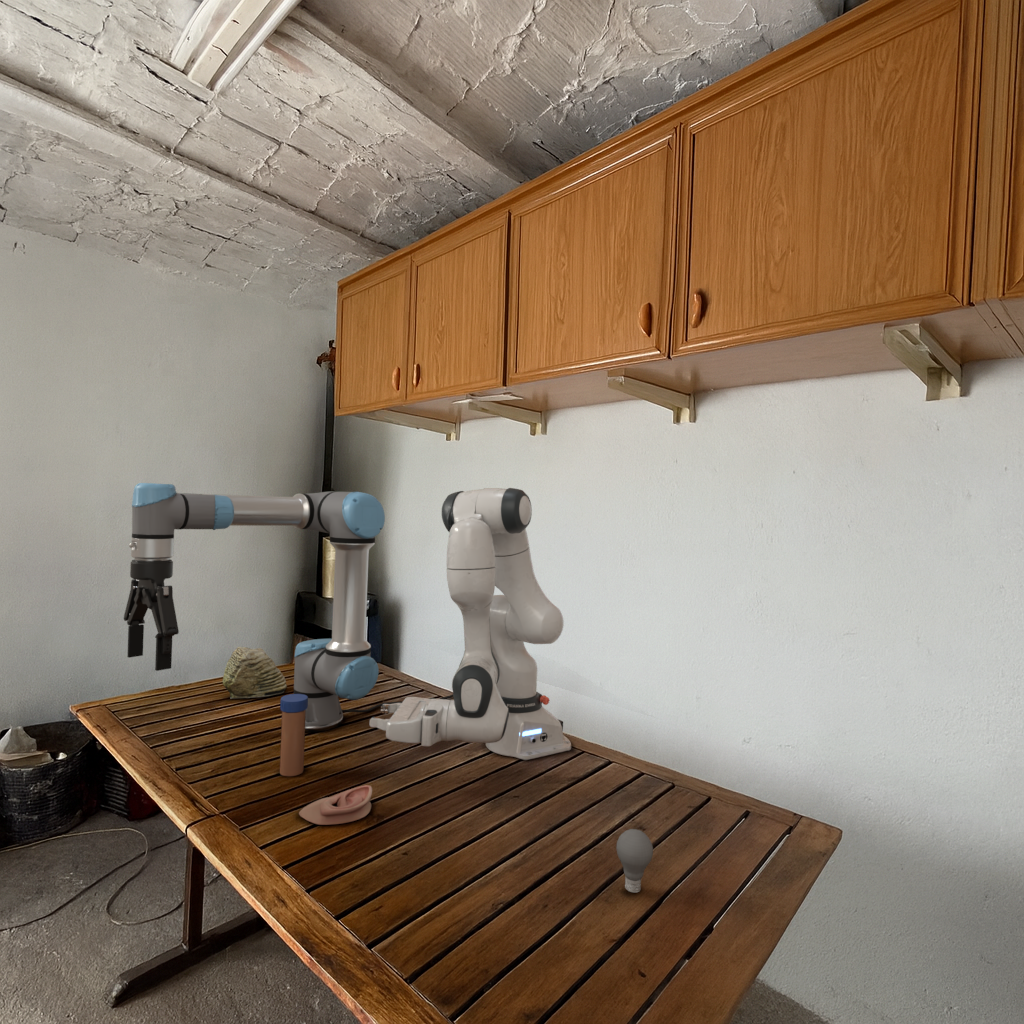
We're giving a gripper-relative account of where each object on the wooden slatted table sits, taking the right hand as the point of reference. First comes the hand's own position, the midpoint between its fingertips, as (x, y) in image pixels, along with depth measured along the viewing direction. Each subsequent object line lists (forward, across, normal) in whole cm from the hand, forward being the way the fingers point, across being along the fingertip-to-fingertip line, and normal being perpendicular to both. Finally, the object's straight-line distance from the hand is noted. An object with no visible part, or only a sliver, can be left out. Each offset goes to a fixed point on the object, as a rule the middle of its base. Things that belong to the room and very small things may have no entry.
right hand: (376, 714), depth 144 cm
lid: (+19, 0, -2) cm, 19 cm away
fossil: (+52, -52, +14) cm, 75 cm away
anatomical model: (+3, +16, +15) cm, 22 cm away
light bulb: (-54, +35, +14) cm, 66 cm away
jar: (+19, -1, +15) cm, 24 cm away
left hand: (+43, +17, -13) cm, 48 cm away
